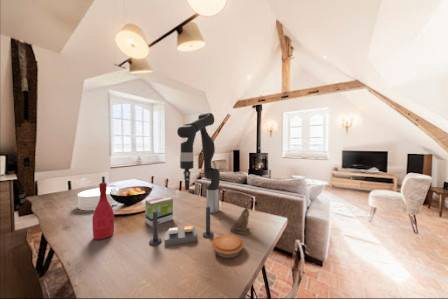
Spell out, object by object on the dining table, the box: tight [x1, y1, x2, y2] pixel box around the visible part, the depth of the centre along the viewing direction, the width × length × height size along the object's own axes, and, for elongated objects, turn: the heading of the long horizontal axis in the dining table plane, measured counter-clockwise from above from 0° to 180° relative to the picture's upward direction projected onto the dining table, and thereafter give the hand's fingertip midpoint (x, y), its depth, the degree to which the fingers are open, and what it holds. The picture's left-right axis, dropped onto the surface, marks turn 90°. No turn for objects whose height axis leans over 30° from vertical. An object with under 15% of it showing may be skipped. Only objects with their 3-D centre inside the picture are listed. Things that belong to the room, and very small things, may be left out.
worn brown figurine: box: [229, 204, 251, 236], centre depth 98 cm, size 12×6×18 cm, turn 68°
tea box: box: [144, 195, 174, 228], centre depth 112 cm, size 15×10×15 cm
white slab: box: [168, 227, 179, 234], centre depth 90 cm, size 4×6×1 cm
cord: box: [148, 211, 162, 247], centre depth 87 cm, size 6×6×16 cm
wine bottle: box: [91, 182, 115, 240], centre depth 93 cm, size 10×10×30 cm
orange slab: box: [183, 225, 194, 232], centre depth 92 cm, size 4×6×1 cm
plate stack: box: [77, 186, 120, 211], centre depth 143 cm, size 28×28×12 cm
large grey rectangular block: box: [164, 227, 197, 246], centre depth 91 cm, size 16×9×4 cm, turn 105°
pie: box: [211, 234, 244, 259], centre depth 81 cm, size 16×16×5 cm
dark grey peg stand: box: [202, 205, 214, 239], centre depth 94 cm, size 6×6×16 cm
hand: (186, 188), depth 96 cm, fingers open, 8 cm apart
